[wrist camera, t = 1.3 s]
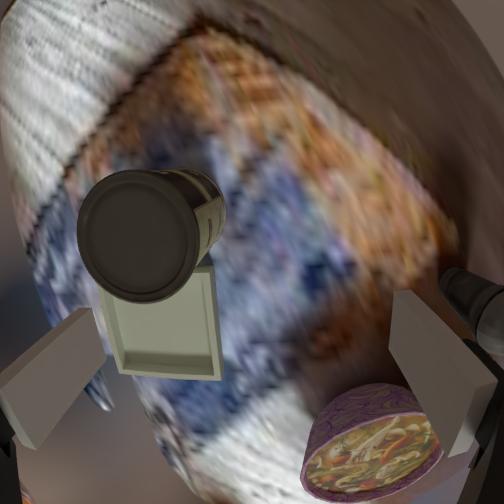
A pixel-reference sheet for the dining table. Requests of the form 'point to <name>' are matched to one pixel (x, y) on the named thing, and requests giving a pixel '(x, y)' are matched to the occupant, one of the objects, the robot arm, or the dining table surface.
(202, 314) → the tray
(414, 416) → the bowl of food
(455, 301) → the beverage cup
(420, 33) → the dining table surface
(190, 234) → the coffee can
